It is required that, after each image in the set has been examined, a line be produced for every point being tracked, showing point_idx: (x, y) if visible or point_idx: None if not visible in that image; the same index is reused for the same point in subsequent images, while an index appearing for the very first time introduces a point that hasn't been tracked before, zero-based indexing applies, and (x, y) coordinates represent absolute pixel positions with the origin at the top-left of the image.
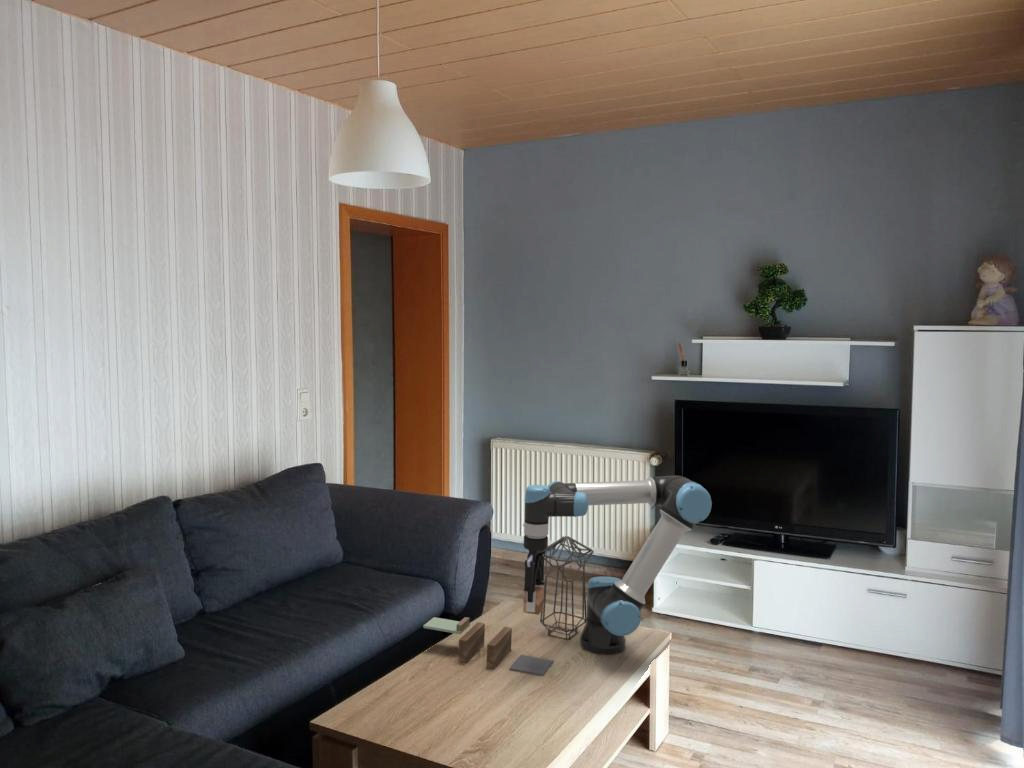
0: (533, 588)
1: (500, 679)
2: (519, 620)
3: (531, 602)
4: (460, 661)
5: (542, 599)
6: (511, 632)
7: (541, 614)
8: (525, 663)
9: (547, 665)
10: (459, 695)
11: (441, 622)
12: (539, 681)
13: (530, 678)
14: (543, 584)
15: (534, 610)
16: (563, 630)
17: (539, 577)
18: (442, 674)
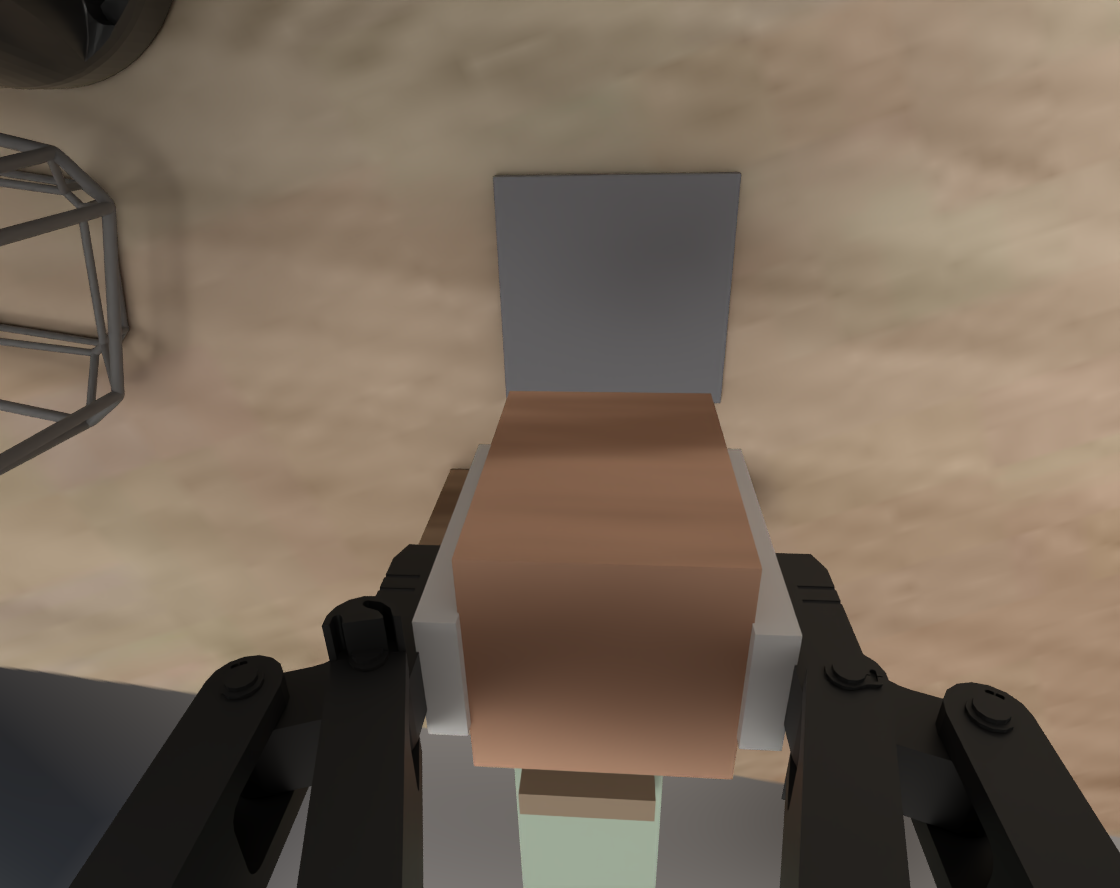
0: (892, 718)
1: (859, 403)
2: (57, 542)
3: (809, 559)
4: None
5: (547, 461)
6: (429, 529)
7: (52, 442)
8: (618, 335)
9: (590, 190)
10: (1108, 529)
11: (575, 863)
12: (824, 170)
13: (795, 242)
14: (363, 607)
15: (744, 461)
16: (113, 225)
17: (407, 789)
18: (875, 660)
